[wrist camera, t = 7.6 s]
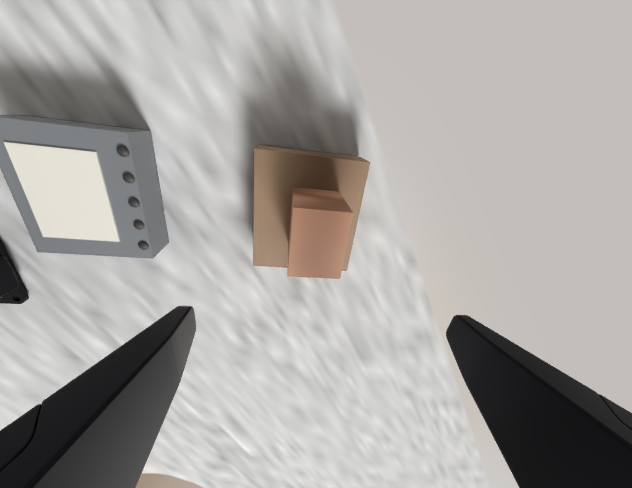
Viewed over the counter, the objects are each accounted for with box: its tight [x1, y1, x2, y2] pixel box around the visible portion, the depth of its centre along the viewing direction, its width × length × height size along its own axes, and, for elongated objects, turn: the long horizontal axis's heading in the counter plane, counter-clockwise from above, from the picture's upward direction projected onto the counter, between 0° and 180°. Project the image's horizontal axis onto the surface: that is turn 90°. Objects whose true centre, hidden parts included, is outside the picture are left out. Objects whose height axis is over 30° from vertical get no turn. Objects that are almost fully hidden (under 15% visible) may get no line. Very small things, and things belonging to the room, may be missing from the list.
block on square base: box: [253, 145, 370, 279], centre depth 16 cm, size 7×8×6 cm
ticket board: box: [0, 115, 169, 258], centre depth 16 cm, size 7×8×3 cm
